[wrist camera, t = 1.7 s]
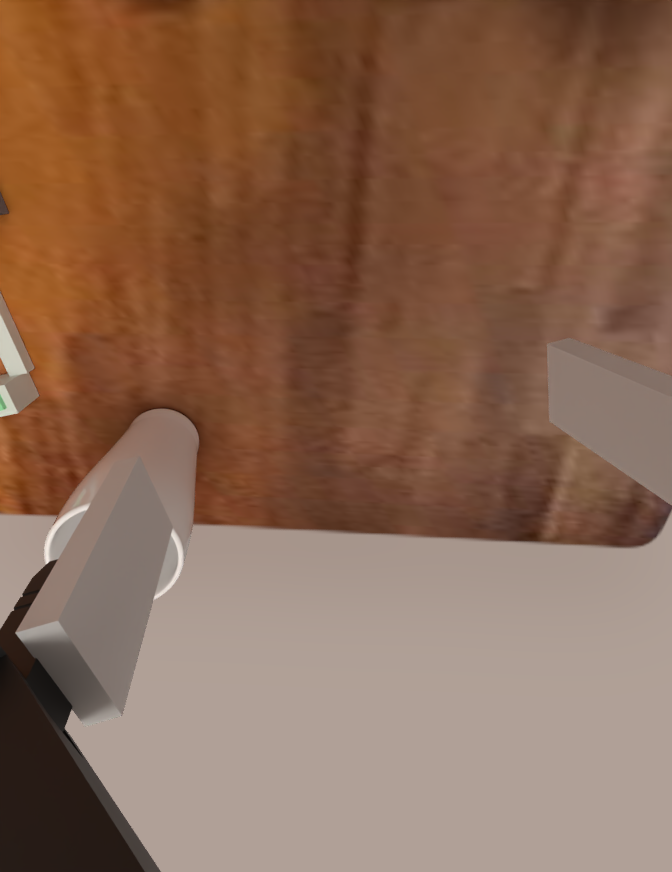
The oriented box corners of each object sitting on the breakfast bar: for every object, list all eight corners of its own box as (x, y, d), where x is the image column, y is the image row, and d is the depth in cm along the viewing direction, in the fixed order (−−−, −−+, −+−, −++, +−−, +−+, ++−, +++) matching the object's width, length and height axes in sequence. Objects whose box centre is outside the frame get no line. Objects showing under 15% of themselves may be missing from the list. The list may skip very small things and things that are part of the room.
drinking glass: (211, 400, 37) (186, 503, 23) (208, 477, 39) (184, 610, 26) (117, 393, 35) (33, 498, 22) (120, 473, 38) (47, 611, 25)
